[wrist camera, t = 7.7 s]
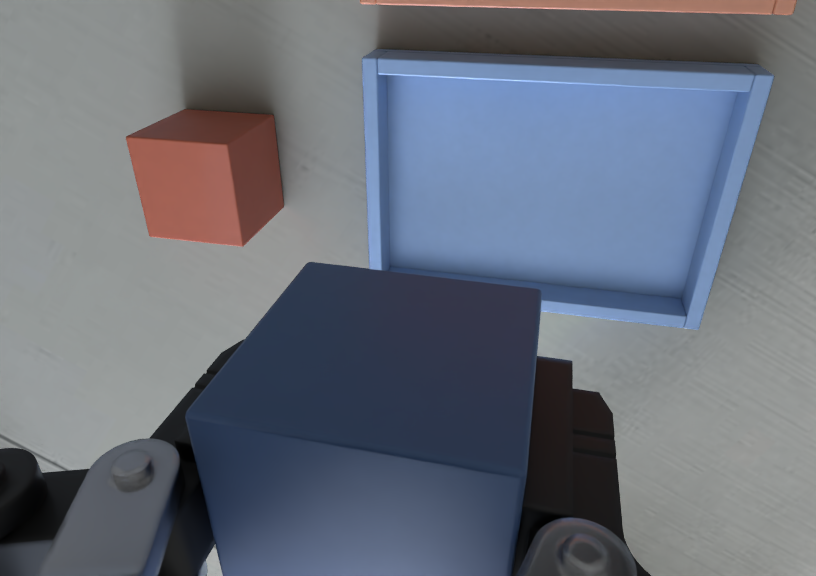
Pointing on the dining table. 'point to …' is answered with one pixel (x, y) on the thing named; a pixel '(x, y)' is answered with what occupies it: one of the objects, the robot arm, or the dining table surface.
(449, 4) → the clay tray
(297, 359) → the blue block
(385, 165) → the blue tray
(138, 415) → the dining table surface
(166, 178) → the terracotta block
